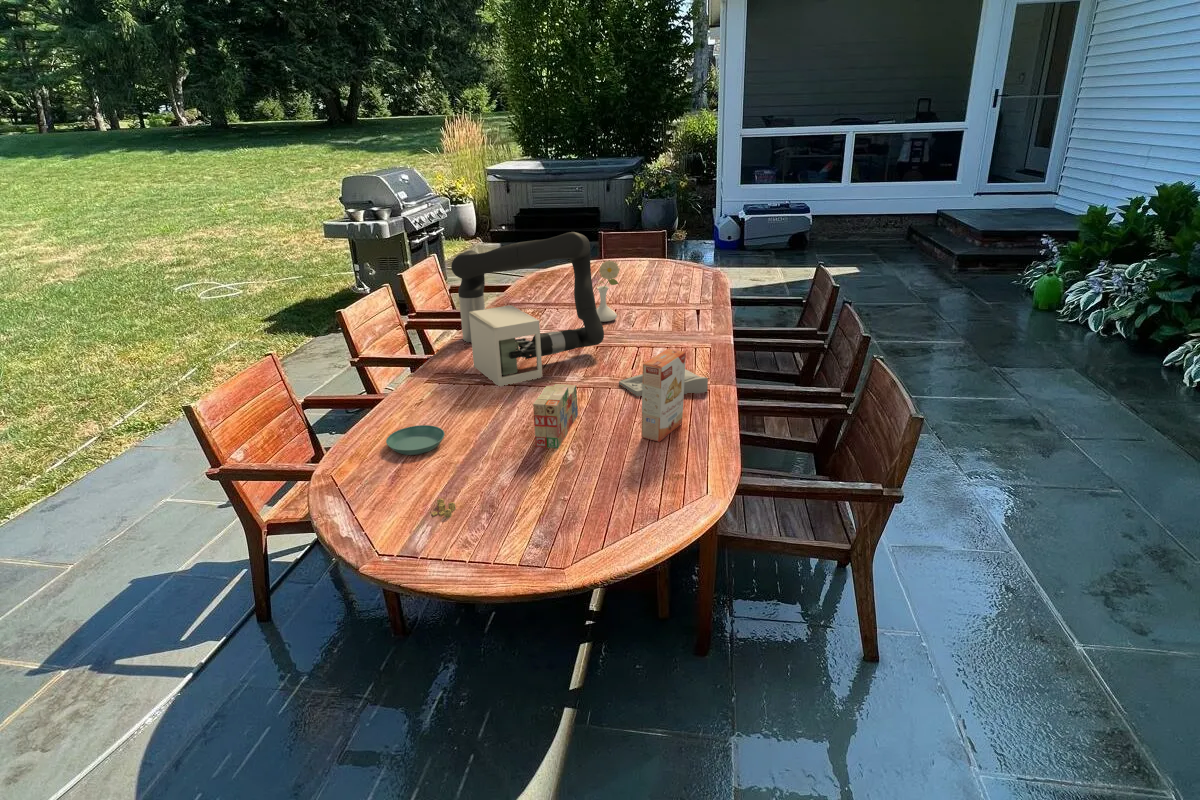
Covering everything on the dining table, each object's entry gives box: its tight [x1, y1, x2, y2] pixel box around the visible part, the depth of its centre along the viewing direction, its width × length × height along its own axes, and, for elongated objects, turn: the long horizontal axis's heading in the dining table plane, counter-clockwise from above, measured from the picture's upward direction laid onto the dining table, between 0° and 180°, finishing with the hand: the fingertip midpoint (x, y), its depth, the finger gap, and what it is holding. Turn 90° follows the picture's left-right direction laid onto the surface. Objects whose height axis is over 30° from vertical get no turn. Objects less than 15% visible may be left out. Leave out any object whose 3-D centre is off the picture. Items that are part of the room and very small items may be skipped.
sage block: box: [499, 338, 519, 376], centre depth 221 cm, size 5×5×12 cm
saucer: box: [385, 424, 446, 456], centre depth 174 cm, size 15×15×3 cm
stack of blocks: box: [532, 383, 579, 449], centre depth 179 cm, size 21×6×12 cm, turn 168°
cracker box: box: [640, 348, 687, 443], centre depth 175 cm, size 14×6×21 cm, turn 148°
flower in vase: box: [596, 260, 621, 323], centre depth 273 cm, size 13×11×25 cm
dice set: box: [431, 498, 457, 519], centre depth 145 cm, size 5×5×2 cm
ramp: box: [618, 368, 709, 397], centre depth 206 cm, size 28×16×5 cm, turn 77°
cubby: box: [469, 304, 543, 387], centre depth 220 cm, size 22×15×19 cm
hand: (504, 352), depth 221 cm, fingers open, 8 cm apart
